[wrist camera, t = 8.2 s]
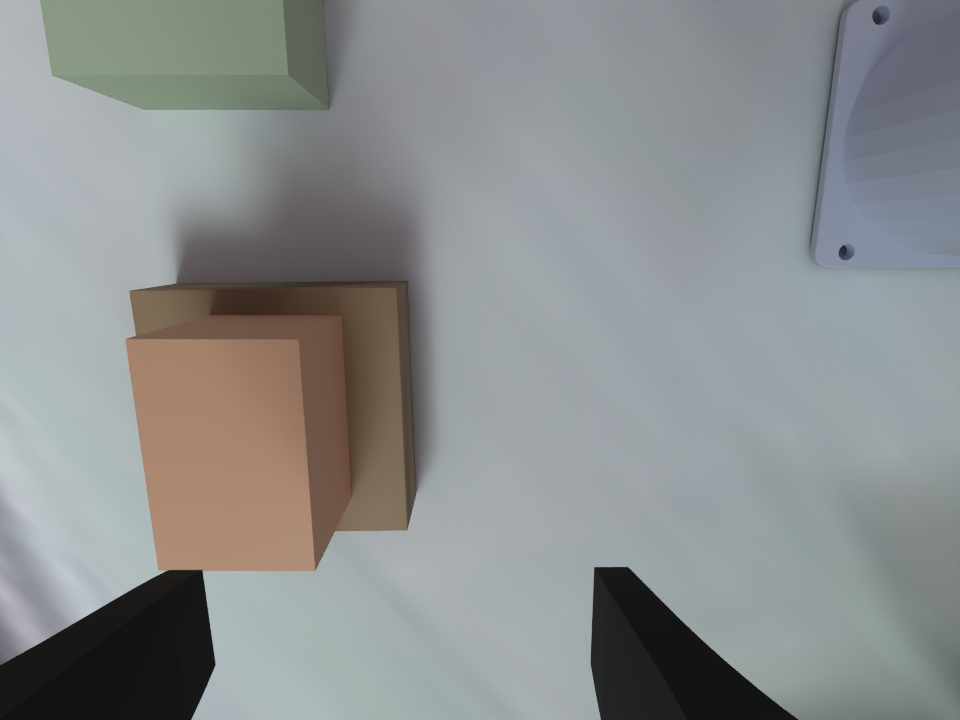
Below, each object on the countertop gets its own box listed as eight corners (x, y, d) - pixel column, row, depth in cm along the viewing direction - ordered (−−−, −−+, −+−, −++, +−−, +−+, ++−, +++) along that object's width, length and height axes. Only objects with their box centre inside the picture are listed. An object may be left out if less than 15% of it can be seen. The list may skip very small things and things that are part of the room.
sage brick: (322, -29, 17) (274, -109, 13) (330, 110, 18) (288, 75, 14) (128, -29, 17) (23, -108, 13) (146, 110, 18) (52, 75, 14)
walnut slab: (409, 280, 19) (396, 287, 16) (417, 489, 21) (407, 530, 18) (182, 283, 19) (129, 290, 16) (210, 491, 21) (166, 532, 18)
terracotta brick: (351, 498, 18) (315, 570, 14) (229, 497, 18) (158, 570, 14) (341, 315, 16) (298, 339, 13) (209, 315, 16) (125, 339, 13)
